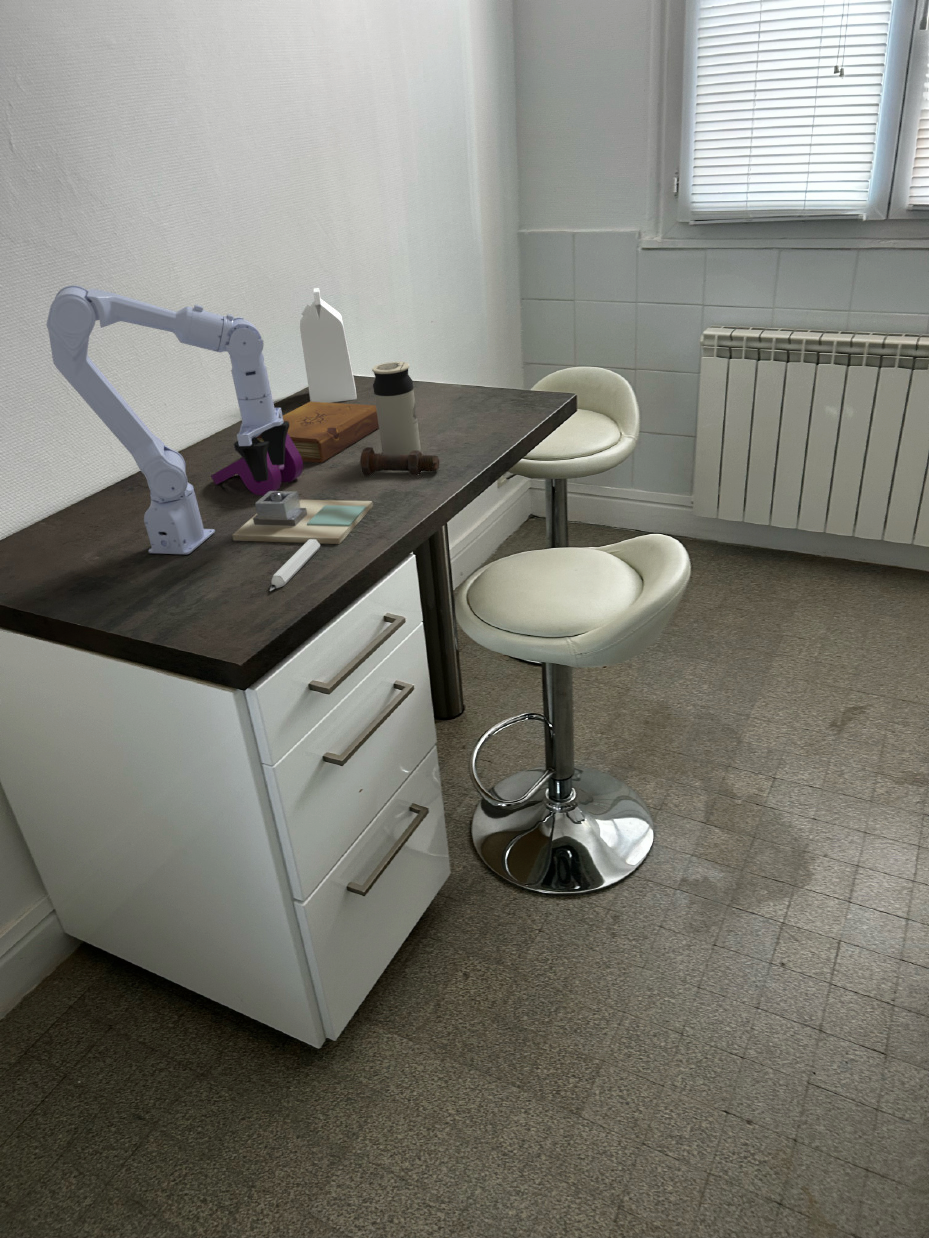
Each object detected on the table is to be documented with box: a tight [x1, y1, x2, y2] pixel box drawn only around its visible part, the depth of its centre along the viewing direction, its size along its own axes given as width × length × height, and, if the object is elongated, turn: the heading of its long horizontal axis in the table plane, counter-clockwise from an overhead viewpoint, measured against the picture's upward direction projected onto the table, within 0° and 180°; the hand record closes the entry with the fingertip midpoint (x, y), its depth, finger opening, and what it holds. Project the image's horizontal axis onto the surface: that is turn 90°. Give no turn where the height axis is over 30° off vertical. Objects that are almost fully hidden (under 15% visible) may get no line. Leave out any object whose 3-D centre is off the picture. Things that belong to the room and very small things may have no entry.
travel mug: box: [371, 361, 422, 455], centre depth 186 cm, size 8×8×18 cm
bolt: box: [359, 447, 440, 477], centre depth 179 cm, size 6×5×15 cm
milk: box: [299, 287, 358, 403], centre depth 228 cm, size 12×12×26 cm
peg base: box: [253, 492, 307, 526], centre depth 161 cm, size 5×8×5 cm, turn 74°
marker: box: [269, 539, 321, 592], centre depth 146 cm, size 3×2×16 cm
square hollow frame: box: [254, 490, 301, 520], centre depth 161 cm, size 6×6×3 cm
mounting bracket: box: [210, 433, 304, 497], centre depth 182 cm, size 9×8×18 cm
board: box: [231, 499, 374, 545], centre depth 162 cm, size 16×20×1 cm
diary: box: [257, 401, 379, 464], centre depth 201 cm, size 23×19×6 cm
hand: (270, 472), depth 159 cm, fingers open, 7 cm apart
